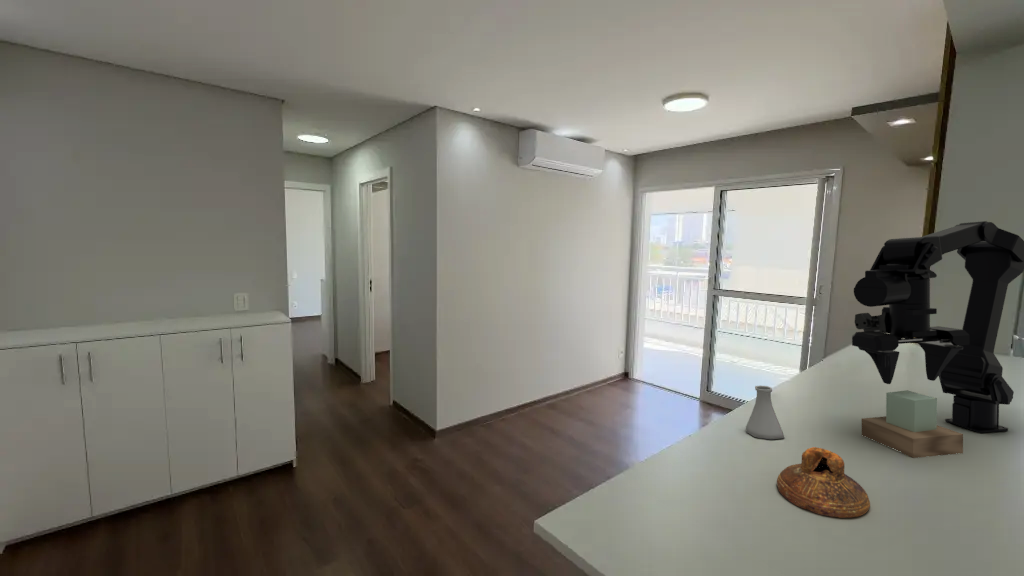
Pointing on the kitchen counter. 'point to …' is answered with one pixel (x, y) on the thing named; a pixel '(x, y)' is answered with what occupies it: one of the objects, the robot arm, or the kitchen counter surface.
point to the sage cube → (911, 410)
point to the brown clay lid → (823, 486)
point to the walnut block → (913, 438)
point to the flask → (764, 416)
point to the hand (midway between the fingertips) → (909, 381)
